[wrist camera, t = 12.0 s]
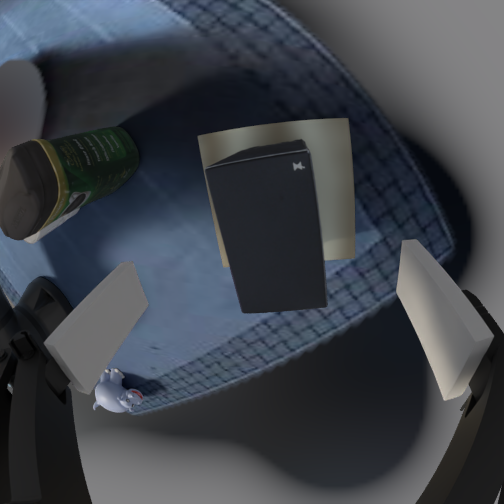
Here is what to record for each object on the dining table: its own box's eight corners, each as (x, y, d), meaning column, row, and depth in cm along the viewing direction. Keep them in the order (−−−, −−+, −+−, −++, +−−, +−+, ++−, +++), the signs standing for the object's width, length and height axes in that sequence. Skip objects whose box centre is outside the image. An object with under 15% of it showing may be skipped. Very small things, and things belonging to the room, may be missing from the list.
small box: (234, 150, 24) (197, 165, 15) (305, 137, 23) (314, 143, 13) (257, 252, 28) (238, 317, 19) (320, 244, 27) (332, 309, 17)
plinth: (234, 244, 35) (223, 267, 30) (214, 134, 29) (197, 135, 24) (345, 236, 32) (354, 258, 27) (337, 119, 26) (348, 117, 21)
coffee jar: (121, 116, 29) (5, 130, 13) (150, 162, 32) (39, 206, 15) (81, 159, 32) (-21, 197, 16) (106, 201, 35) (10, 259, 18)
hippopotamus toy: (159, 396, 55) (145, 427, 47) (120, 395, 60) (106, 420, 51) (132, 366, 51) (114, 398, 43) (95, 368, 56) (78, 394, 47)
